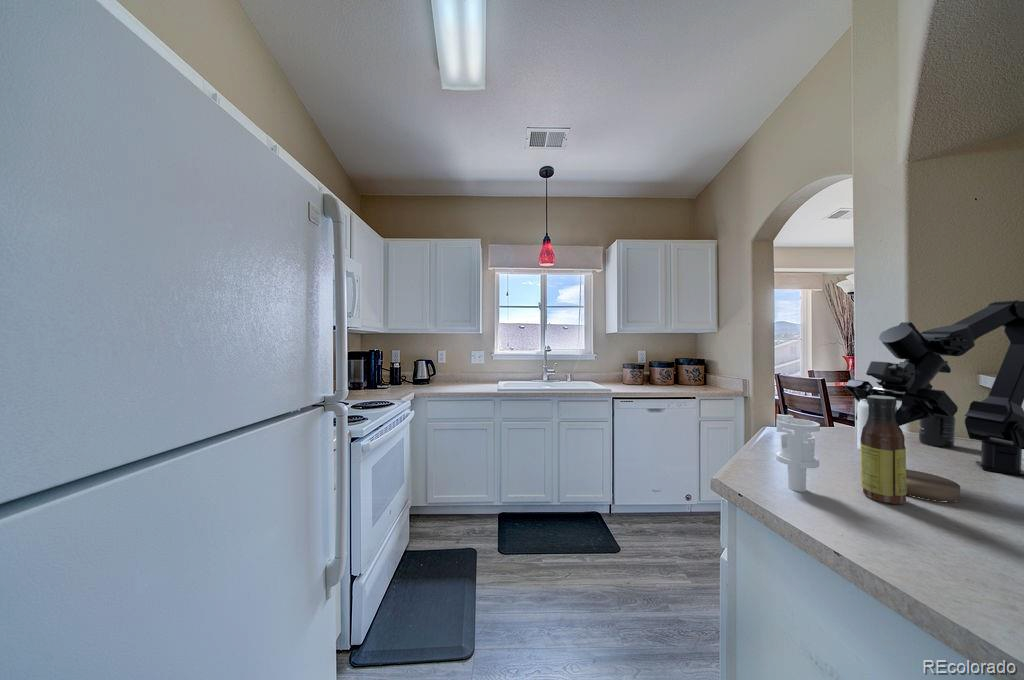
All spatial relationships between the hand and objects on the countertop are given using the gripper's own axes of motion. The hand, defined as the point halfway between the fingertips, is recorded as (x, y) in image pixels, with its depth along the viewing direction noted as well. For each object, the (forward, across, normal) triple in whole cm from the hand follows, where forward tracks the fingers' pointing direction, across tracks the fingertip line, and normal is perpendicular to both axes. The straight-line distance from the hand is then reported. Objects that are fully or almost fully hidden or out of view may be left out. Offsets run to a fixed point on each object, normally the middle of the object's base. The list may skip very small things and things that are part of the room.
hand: (872, 423), depth 84 cm
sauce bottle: (+16, +10, +1) cm, 19 cm away
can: (+4, 0, +6) cm, 7 cm away
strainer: (+25, +4, -8) cm, 26 cm away
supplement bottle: (-22, -18, +40) cm, 49 cm away
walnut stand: (+8, +8, +9) cm, 14 cm away
